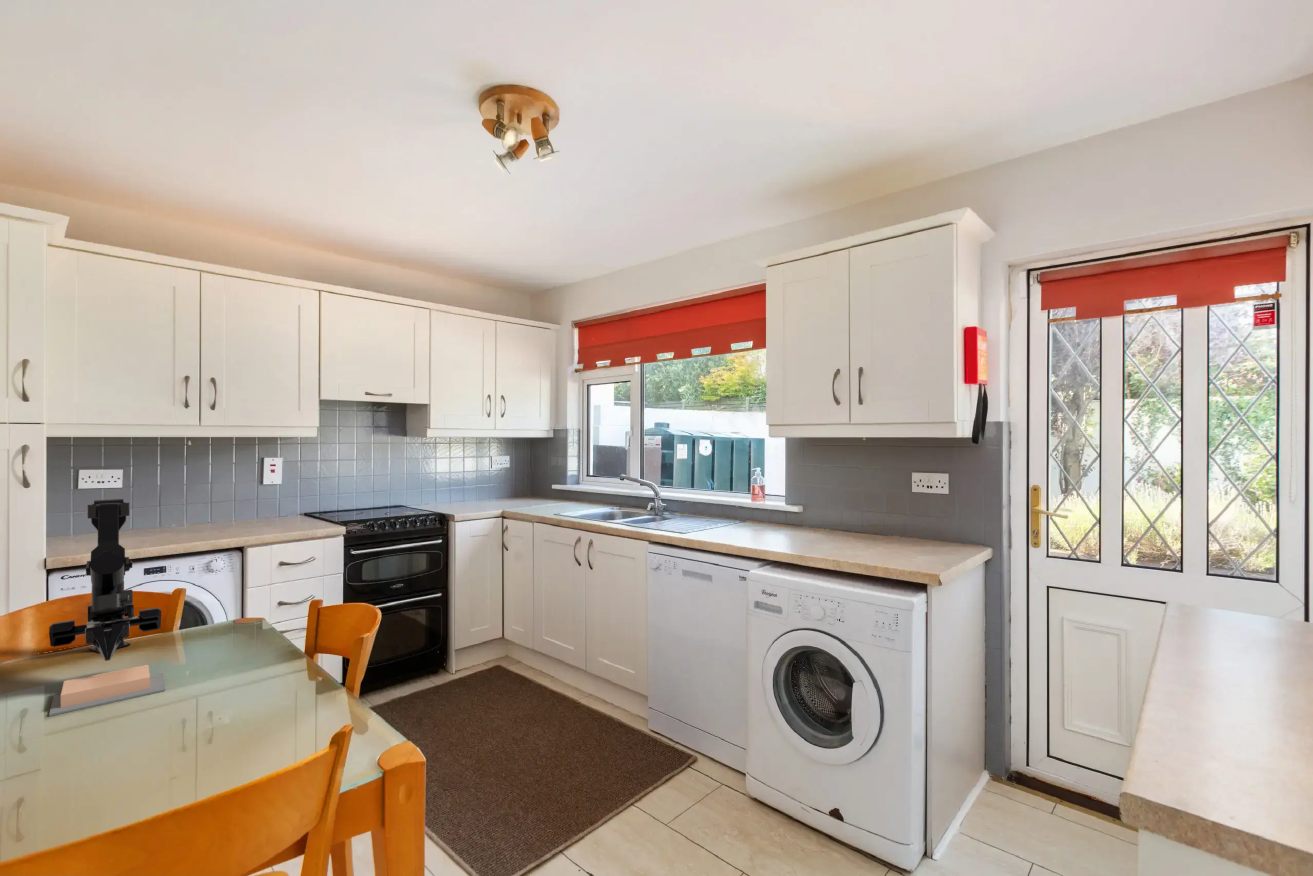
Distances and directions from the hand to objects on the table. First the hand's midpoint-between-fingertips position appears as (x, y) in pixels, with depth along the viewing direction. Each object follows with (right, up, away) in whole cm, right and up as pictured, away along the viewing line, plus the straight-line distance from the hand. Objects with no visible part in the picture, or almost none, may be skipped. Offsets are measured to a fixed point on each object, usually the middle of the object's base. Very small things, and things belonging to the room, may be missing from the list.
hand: (107, 659), depth 133 cm
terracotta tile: (-2, -5, +2) cm, 6 cm away
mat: (+3, -7, -2) cm, 8 cm away
